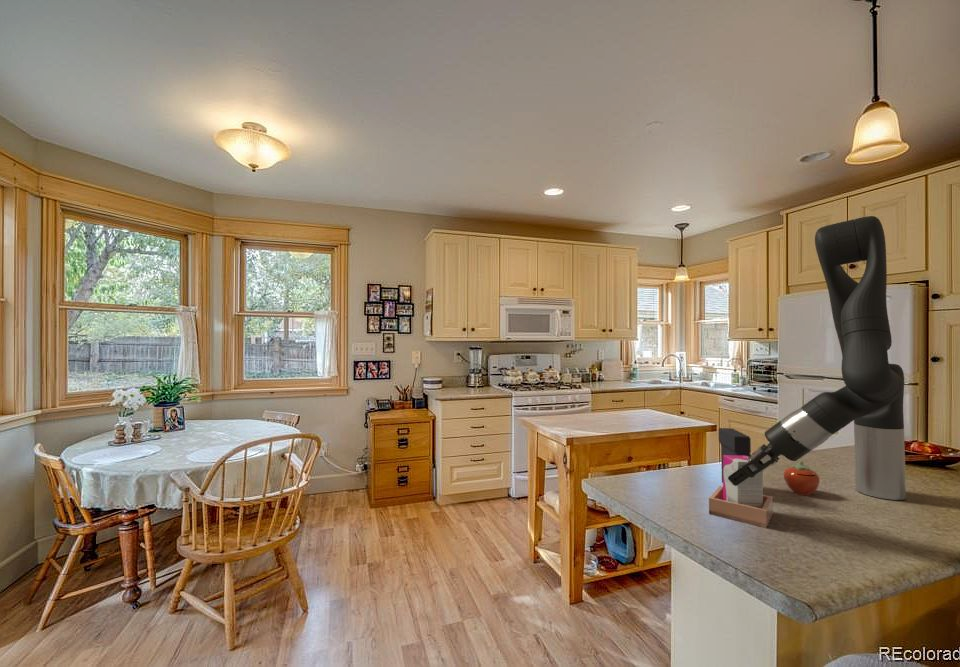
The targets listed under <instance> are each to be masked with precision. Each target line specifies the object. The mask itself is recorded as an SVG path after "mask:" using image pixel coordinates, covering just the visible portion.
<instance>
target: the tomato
mask: <svg viewBox="0 0 960 667" xmlns="http://www.w3.org/2000/svg"><path fill="white" fill-rule="evenodd" d="M782 475H783V476H782V477H783V479H784V482H785V484H786V485H787V487H788V488H789V490H791V491H792V492H793V493H795V494H798V495H803V496H810V495H812V494H813V493H815V492H816V491H817V490H818V488H819V485H820V482H821V481H820V480H821V479H820V476H819V474H818V473H817V472H816V471H814V470H813V469H811V468H810V467H809V466H808V465H806V464H804V462H803V461H802V460H799V461H798V463H797V464H792V465H791V466H789V467H787V468H785V470H784V471H783V474H782Z"/></svg>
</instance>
